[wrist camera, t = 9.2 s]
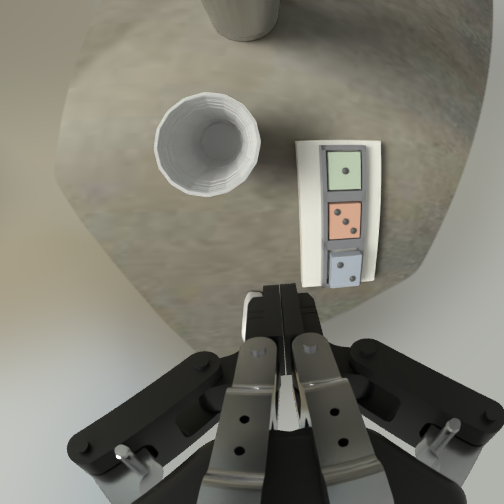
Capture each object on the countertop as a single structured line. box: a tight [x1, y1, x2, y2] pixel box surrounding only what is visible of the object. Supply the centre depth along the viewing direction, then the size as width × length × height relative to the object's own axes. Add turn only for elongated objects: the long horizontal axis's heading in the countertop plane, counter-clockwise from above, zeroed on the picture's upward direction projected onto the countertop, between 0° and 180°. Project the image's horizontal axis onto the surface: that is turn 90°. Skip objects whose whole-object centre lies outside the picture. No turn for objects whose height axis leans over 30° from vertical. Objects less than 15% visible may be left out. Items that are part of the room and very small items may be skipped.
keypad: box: [295, 140, 381, 287], centre depth 38 cm, size 22×12×4 cm, turn 5°
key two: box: [329, 250, 362, 288], centre depth 39 cm, size 5×4×2 cm
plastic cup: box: [154, 92, 261, 197], centre depth 31 cm, size 11×11×12 cm
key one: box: [326, 151, 361, 190], centre depth 34 cm, size 5×4×2 cm
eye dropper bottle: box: [242, 292, 263, 342], centre depth 42 cm, size 4×6×12 cm
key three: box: [328, 201, 361, 239], centre depth 37 cm, size 5×4×2 cm
